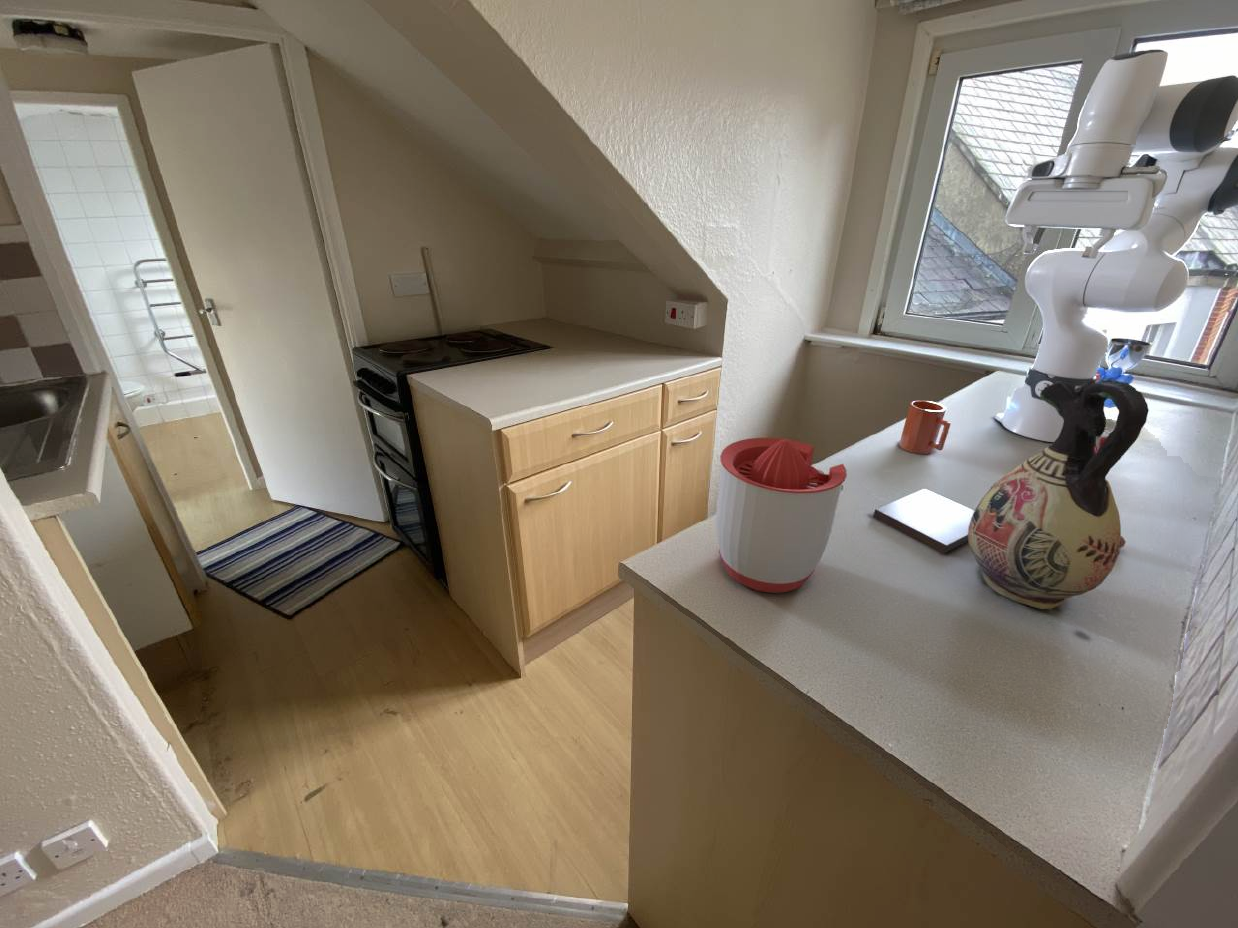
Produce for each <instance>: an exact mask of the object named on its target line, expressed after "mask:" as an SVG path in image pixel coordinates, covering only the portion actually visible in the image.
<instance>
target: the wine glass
mask: <svg viewBox="0 0 1238 928" xmlns="http://www.w3.org/2000/svg"><path fill="white" fill-rule="evenodd" d="M1150 347H1151V343H1150V342H1148V341H1143V340H1139V339H1131V338H1120V337H1119V338H1118V337H1117V338H1115V337H1114V338H1111V339H1110V341H1109V342H1108V347H1107V350H1106V352H1105V362H1106V364H1107V366H1108V368H1111V367H1115V366H1117V367H1121V368H1122V370H1123V372H1122V374H1125V372H1127V371H1129V370H1131V369H1133V368H1135V367H1137V366H1138V365H1139V364H1140V363H1141V361H1143V359H1144V358H1145V356H1146V355H1147V353H1148V351H1149V349H1150Z"/></svg>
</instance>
